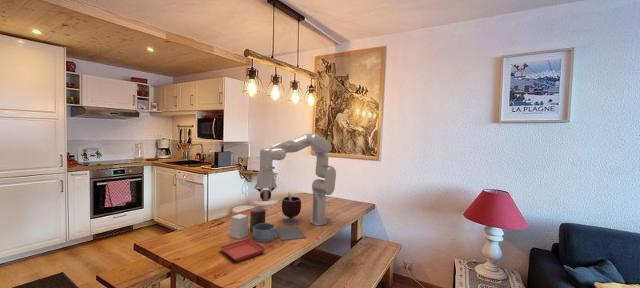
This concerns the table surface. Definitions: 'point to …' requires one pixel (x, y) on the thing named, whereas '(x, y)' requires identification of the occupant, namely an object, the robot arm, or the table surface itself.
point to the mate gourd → (291, 209)
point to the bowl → (264, 232)
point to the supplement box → (239, 226)
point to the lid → (265, 200)
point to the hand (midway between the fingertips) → (265, 198)
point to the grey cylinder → (257, 217)
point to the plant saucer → (242, 249)
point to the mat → (290, 233)
